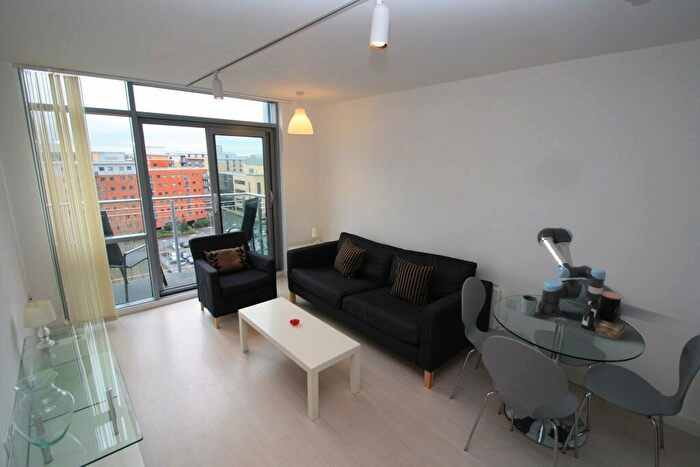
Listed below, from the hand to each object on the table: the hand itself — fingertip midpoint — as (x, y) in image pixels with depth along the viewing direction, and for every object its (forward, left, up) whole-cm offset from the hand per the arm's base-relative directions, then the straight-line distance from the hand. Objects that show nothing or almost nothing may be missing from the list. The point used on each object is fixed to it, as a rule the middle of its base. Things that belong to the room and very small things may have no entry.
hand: (588, 321), depth 214 cm
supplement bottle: (0, 0, -5) cm, 5 cm away
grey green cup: (-34, -11, -5) cm, 36 cm away
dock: (+11, +6, -5) cm, 13 cm away
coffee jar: (+4, +25, -5) cm, 26 cm away
